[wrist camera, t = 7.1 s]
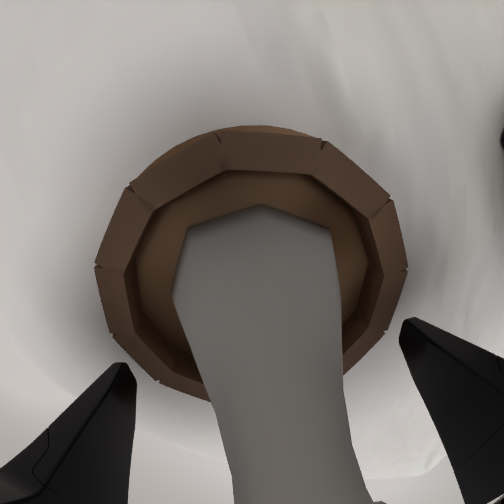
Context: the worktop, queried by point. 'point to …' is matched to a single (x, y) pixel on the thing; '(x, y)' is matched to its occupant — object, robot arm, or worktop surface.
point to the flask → (271, 354)
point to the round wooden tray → (231, 200)
